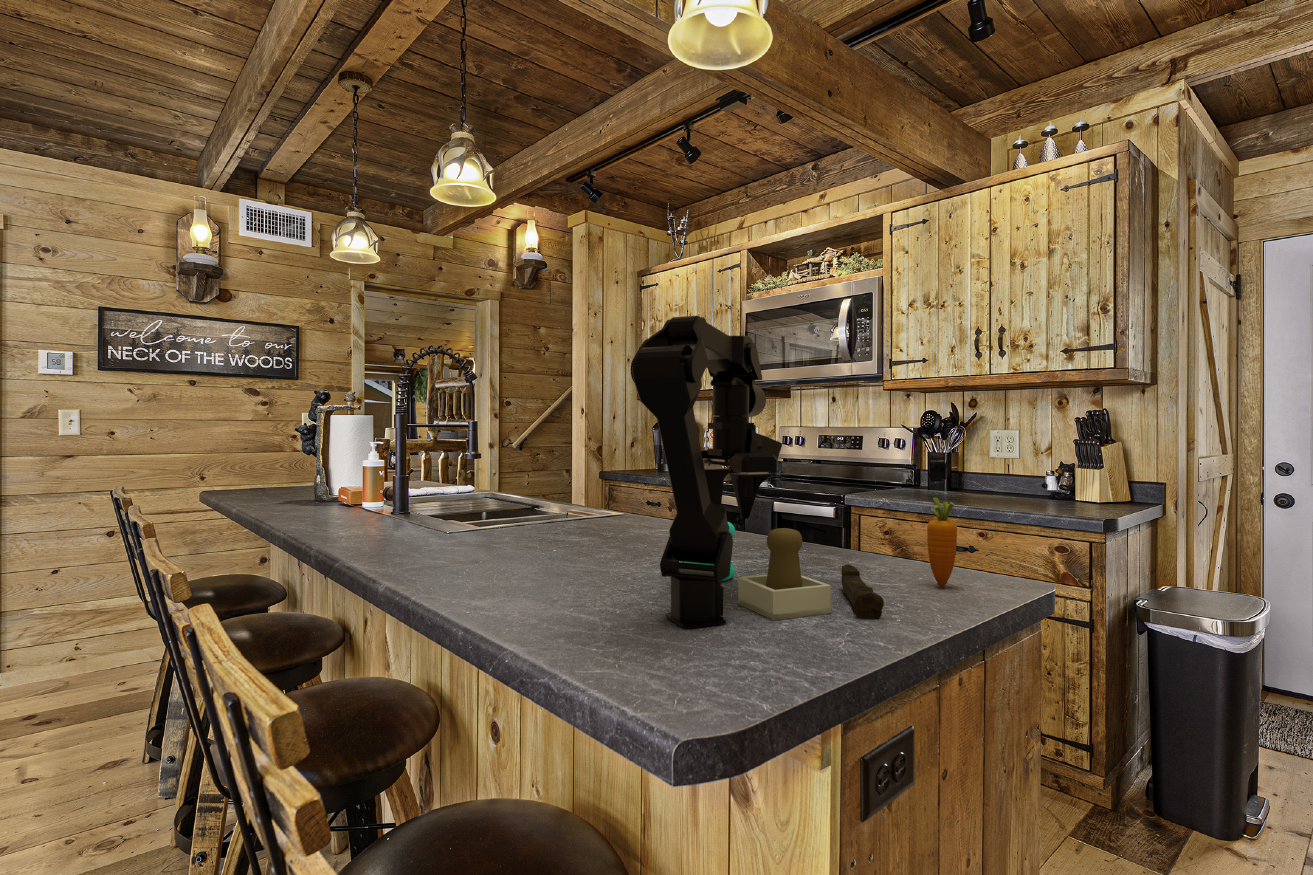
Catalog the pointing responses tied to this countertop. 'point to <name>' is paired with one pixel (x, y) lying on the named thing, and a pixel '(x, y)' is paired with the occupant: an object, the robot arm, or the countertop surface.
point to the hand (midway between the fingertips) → (730, 515)
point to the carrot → (942, 543)
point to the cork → (784, 559)
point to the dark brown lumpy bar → (860, 594)
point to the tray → (784, 598)
